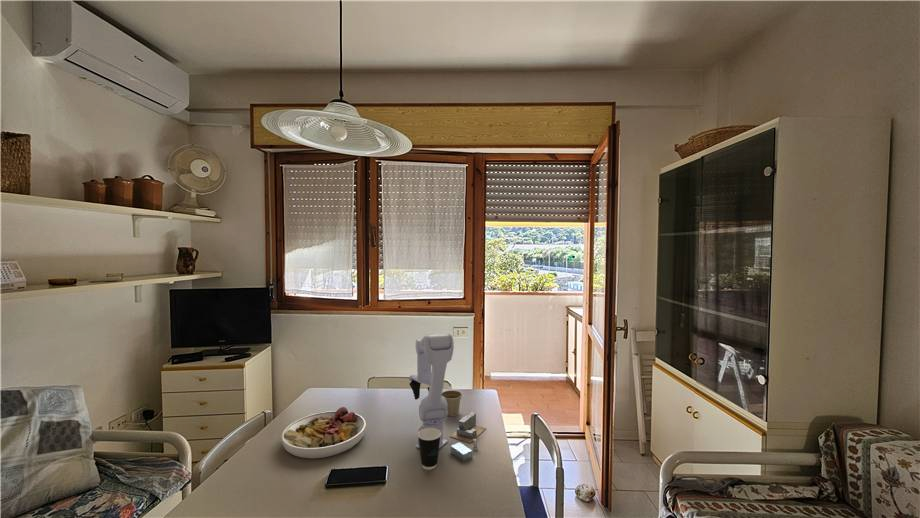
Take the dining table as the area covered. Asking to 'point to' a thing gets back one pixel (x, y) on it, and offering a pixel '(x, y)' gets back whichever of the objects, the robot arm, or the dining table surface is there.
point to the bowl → (324, 434)
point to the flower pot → (452, 401)
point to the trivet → (454, 435)
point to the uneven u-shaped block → (467, 426)
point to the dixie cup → (429, 447)
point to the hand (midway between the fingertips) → (424, 400)
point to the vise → (463, 450)
